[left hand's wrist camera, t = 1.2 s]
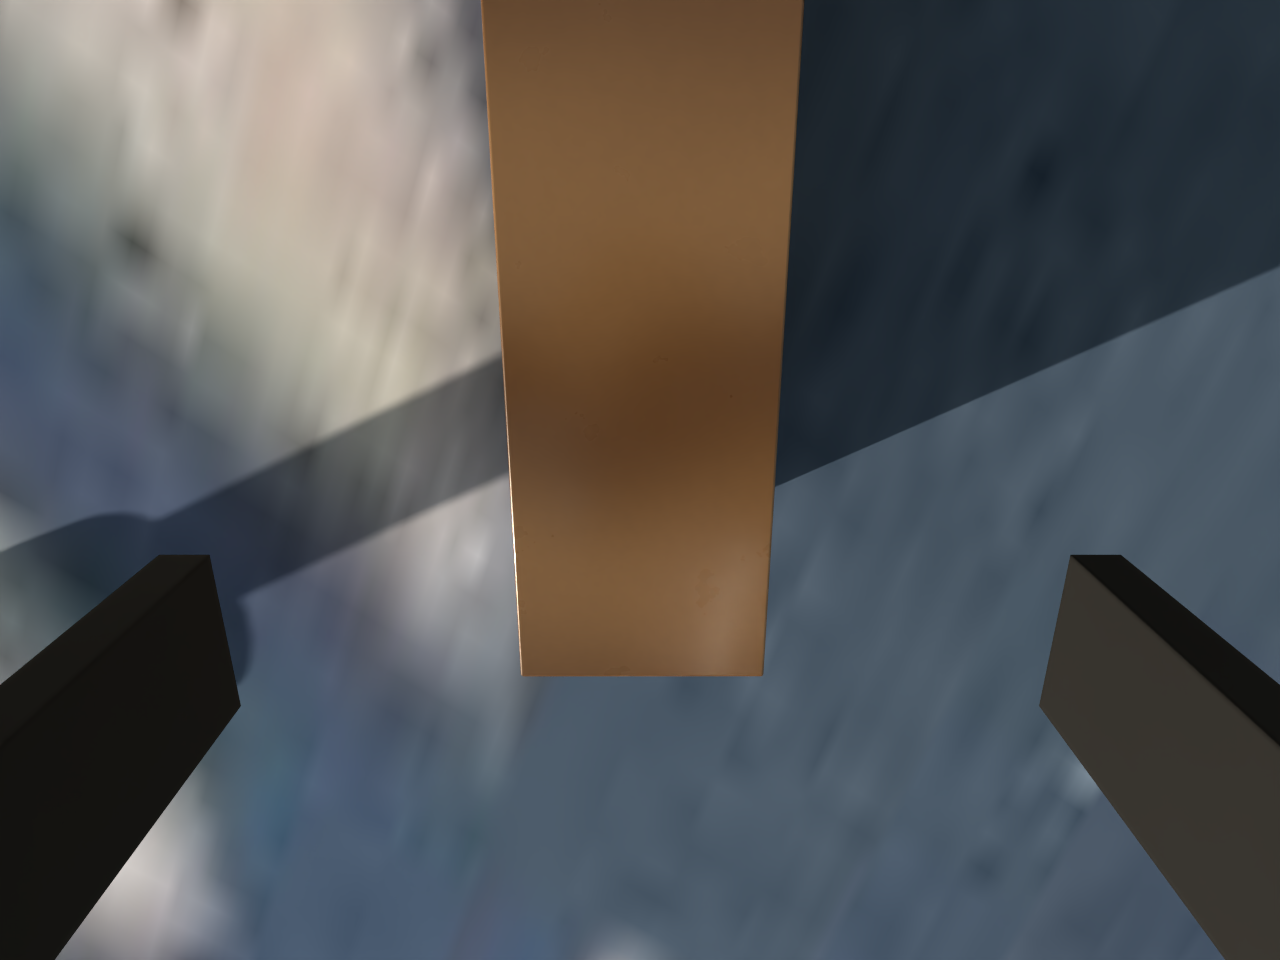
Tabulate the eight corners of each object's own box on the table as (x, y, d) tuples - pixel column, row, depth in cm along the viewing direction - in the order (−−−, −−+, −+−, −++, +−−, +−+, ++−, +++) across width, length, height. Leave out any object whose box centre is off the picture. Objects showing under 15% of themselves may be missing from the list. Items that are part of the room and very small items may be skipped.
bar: (722, 511, 26) (763, 677, 18) (559, 511, 26) (520, 677, 18) (765, -622, 17) (890, -1405, 9) (517, -622, 17) (396, -1407, 9)
